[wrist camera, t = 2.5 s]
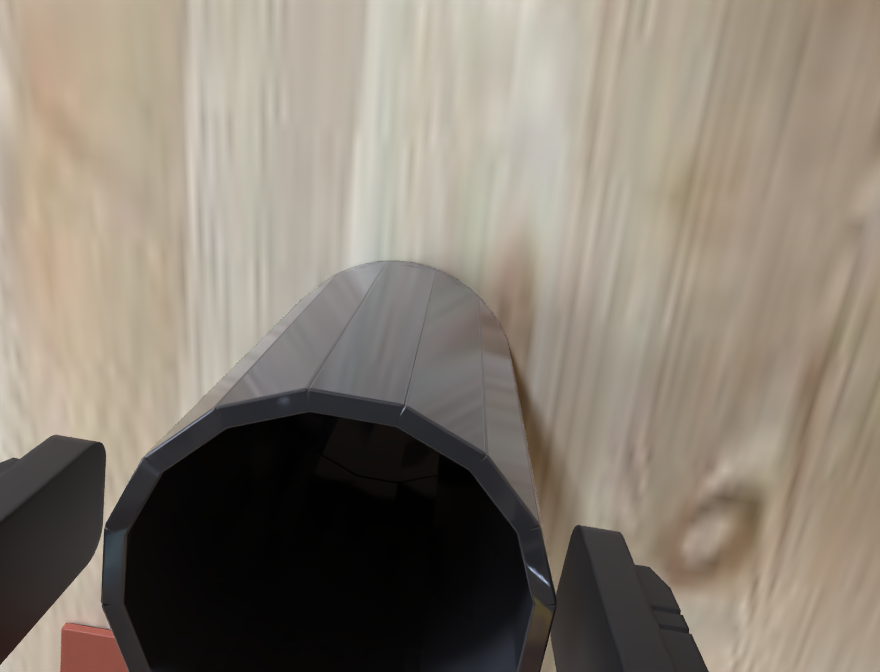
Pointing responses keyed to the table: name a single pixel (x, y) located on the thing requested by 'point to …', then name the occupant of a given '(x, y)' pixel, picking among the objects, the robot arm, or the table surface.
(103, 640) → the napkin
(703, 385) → the table surface
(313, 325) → the black cup
